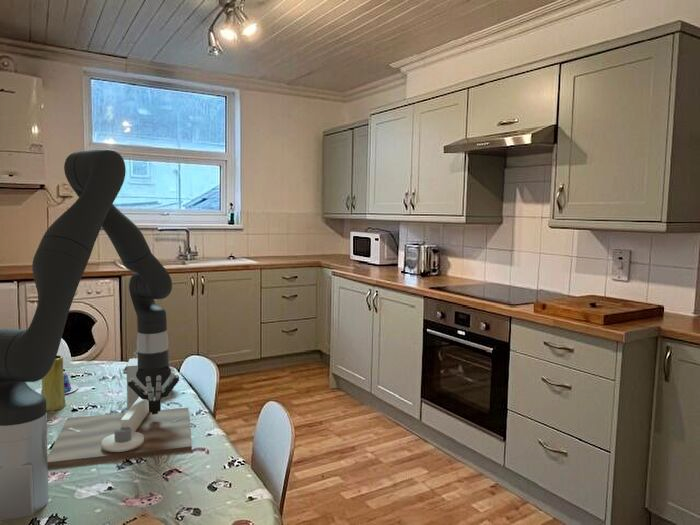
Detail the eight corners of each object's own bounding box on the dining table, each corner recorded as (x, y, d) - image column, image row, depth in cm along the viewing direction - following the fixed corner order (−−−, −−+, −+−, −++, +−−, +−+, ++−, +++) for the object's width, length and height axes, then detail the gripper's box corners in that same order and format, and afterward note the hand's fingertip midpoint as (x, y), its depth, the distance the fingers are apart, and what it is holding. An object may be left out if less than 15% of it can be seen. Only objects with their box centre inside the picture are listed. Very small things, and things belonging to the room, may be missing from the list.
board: (191, 452, 122) (191, 445, 122) (44, 469, 113) (44, 462, 112) (188, 412, 147) (188, 407, 147) (67, 423, 137) (67, 417, 137)
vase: (54, 412, 145) (53, 361, 144) (35, 410, 146) (34, 359, 145) (70, 404, 151) (69, 355, 150) (52, 402, 152) (50, 354, 151)
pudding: (65, 399, 156) (65, 381, 156) (25, 398, 156) (24, 380, 156) (85, 386, 168) (85, 370, 168) (48, 385, 168) (47, 369, 168)
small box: (129, 402, 154) (129, 358, 153) (152, 400, 156) (152, 357, 155) (126, 411, 146) (126, 365, 145) (151, 410, 148) (150, 364, 147)
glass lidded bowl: (158, 368, 190) (158, 347, 189) (147, 375, 181) (147, 353, 181) (134, 367, 190) (134, 346, 190) (122, 374, 182) (122, 352, 181)
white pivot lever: (138, 451, 118) (137, 429, 118) (95, 452, 117) (95, 430, 116) (164, 408, 144) (164, 390, 144) (130, 409, 143) (130, 391, 143)
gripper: (123, 354, 129) (126, 421, 131) (180, 350, 133) (181, 415, 135) (126, 346, 137) (128, 410, 138) (179, 342, 141) (181, 405, 143)
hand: (155, 413), depth 137 cm, fingers closed
